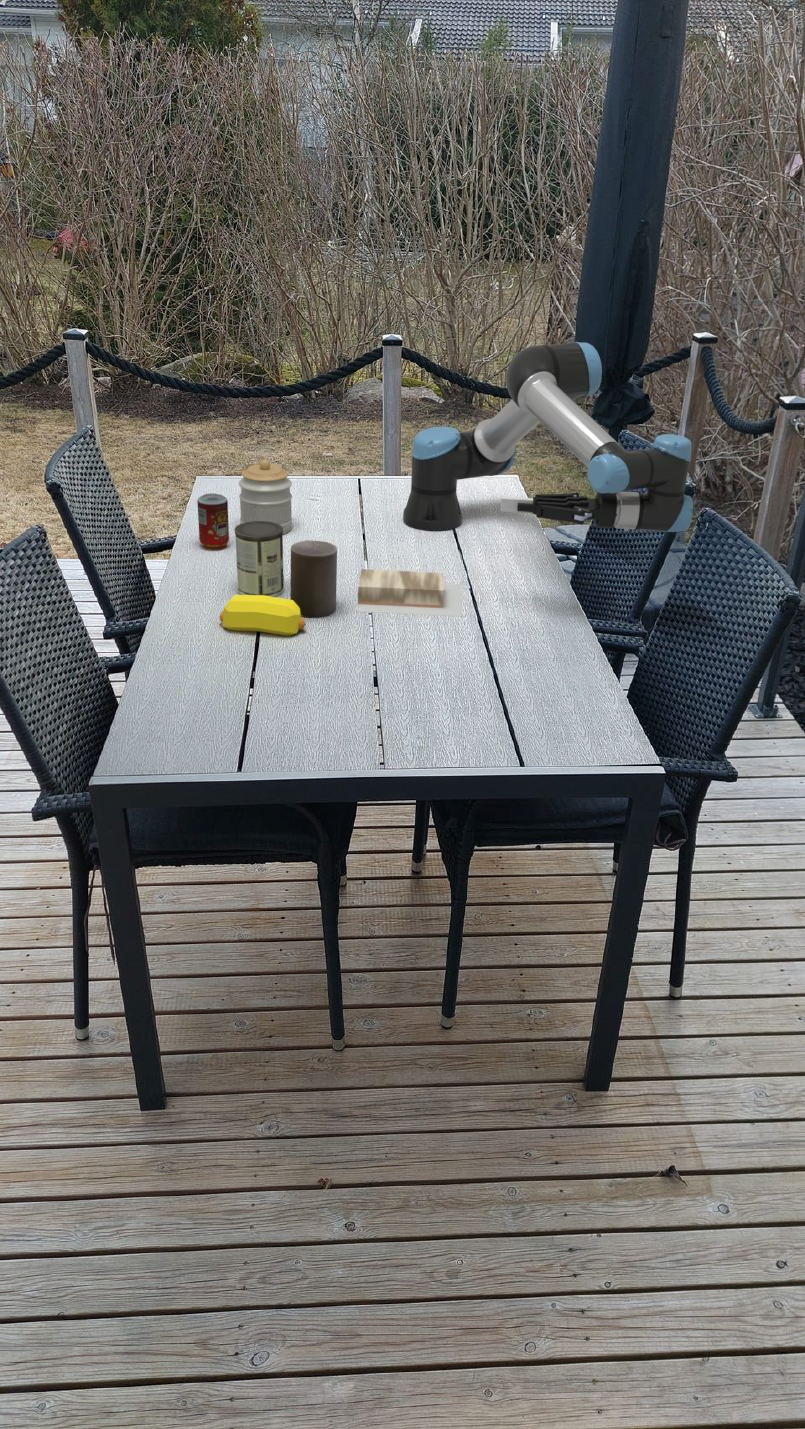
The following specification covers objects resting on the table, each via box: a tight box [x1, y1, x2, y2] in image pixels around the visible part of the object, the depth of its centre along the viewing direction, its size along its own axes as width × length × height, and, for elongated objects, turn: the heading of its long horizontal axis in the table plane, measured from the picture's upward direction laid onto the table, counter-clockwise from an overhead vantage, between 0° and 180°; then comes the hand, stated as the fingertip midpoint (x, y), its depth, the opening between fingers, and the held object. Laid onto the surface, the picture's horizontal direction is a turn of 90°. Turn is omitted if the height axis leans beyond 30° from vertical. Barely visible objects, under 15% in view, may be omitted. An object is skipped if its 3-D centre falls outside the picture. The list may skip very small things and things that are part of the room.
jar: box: [238, 458, 293, 535], centre depth 274 cm, size 13×13×18 cm
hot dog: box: [218, 594, 307, 637], centre depth 225 cm, size 18×7×8 cm
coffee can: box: [234, 521, 285, 597], centre depth 240 cm, size 10×10×14 cm
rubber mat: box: [357, 582, 463, 618], centre depth 241 cm, size 22×18×1 cm
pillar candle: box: [289, 539, 338, 619], centre depth 232 cm, size 10×10×15 cm
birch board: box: [357, 568, 444, 608], centre depth 240 cm, size 4×10×18 cm
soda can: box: [196, 493, 230, 551], centre depth 263 cm, size 7×7×12 cm
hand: (501, 504), depth 229 cm, fingers closed
